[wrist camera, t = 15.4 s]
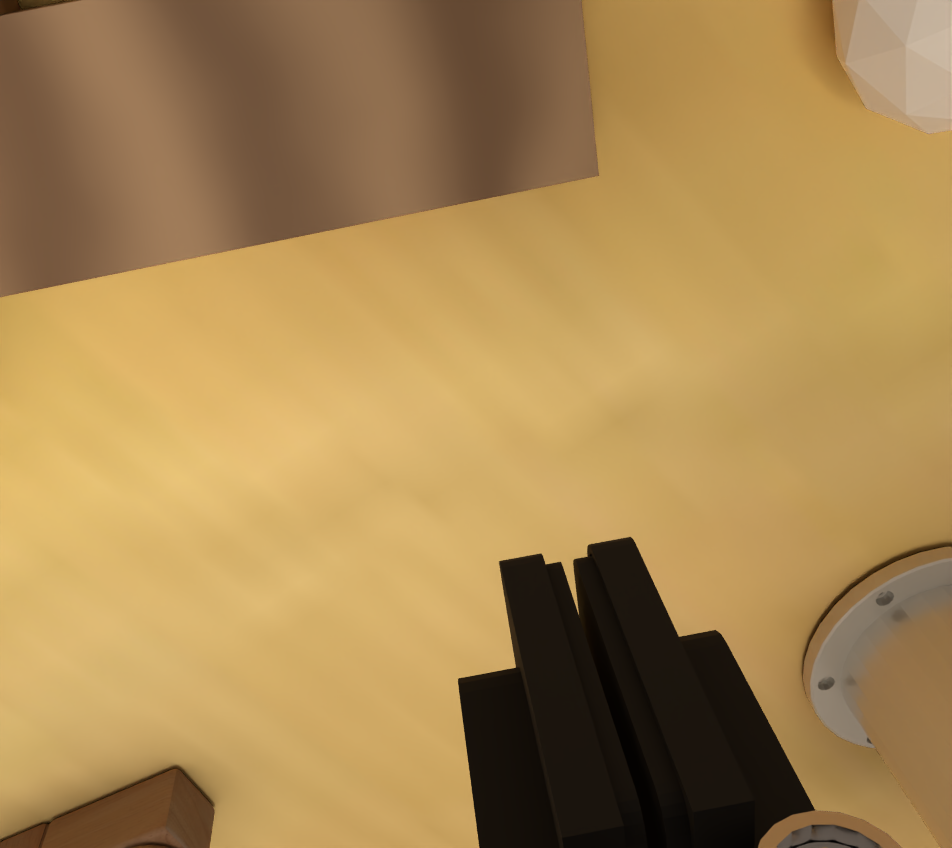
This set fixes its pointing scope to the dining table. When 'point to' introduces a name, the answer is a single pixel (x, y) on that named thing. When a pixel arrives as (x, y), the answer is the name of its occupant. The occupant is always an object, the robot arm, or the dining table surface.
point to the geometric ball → (899, 58)
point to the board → (270, 121)
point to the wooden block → (131, 819)
